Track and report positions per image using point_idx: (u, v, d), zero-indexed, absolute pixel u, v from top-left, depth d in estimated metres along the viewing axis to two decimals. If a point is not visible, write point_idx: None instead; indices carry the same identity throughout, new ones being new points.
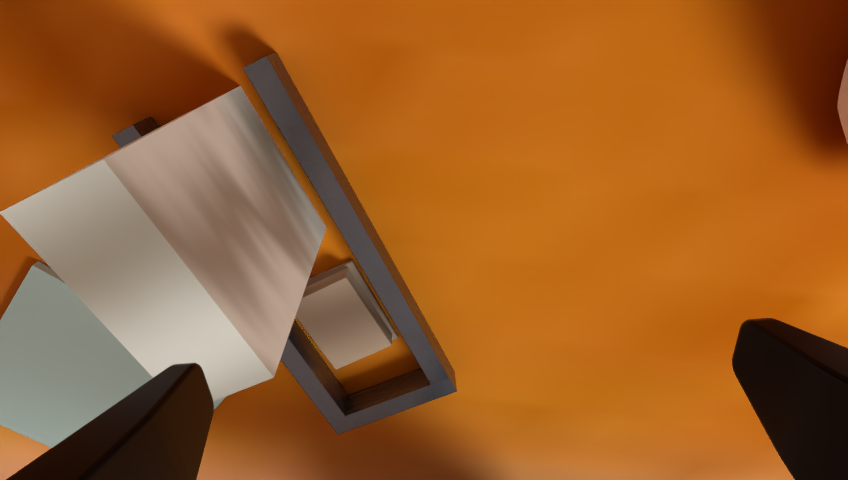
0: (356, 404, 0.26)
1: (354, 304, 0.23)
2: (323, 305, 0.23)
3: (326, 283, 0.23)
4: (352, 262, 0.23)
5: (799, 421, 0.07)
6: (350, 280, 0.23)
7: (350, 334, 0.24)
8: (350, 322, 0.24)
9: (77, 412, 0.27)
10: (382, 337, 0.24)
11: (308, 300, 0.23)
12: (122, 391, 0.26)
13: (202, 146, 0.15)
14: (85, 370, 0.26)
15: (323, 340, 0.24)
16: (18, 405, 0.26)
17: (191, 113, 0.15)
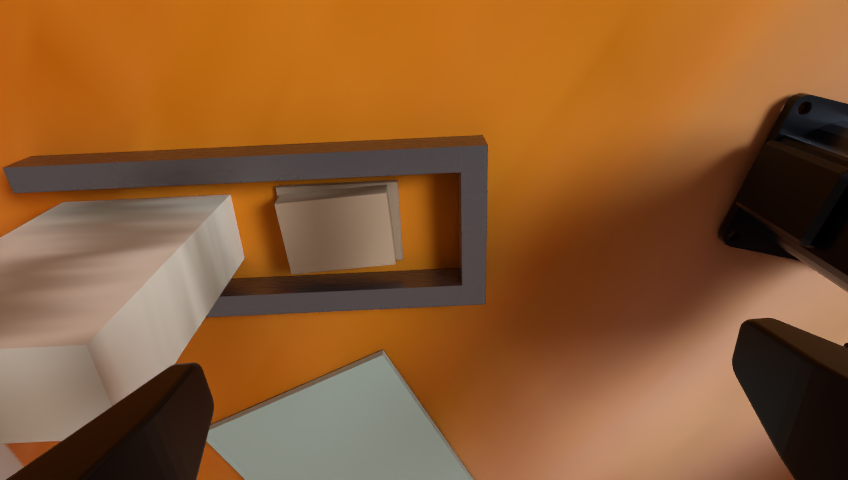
0: (460, 266, 0.21)
1: (312, 209, 0.19)
2: (303, 240, 0.20)
3: (282, 225, 0.20)
4: (277, 187, 0.20)
5: (798, 421, 0.07)
6: (284, 200, 0.19)
7: (353, 230, 0.20)
8: (336, 223, 0.20)
9: None
10: (370, 198, 0.19)
11: (291, 252, 0.20)
12: (353, 446, 0.26)
13: None
14: (317, 457, 0.27)
15: (350, 259, 0.20)
16: None
17: None
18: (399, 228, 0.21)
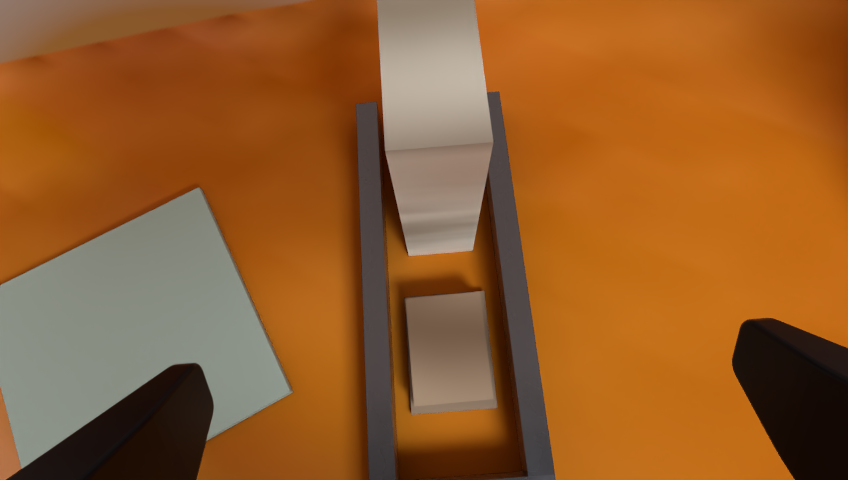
0: None
1: (474, 326, 0.21)
2: (442, 314, 0.21)
3: (454, 295, 0.21)
4: (483, 292, 0.22)
5: (798, 421, 0.07)
6: (480, 301, 0.21)
7: (453, 363, 0.20)
8: (460, 347, 0.20)
9: (82, 362, 0.22)
10: (487, 383, 0.20)
11: (429, 301, 0.21)
12: (154, 353, 0.22)
13: None
14: (142, 310, 0.22)
15: (420, 358, 0.20)
16: (35, 326, 0.22)
17: None
18: (447, 410, 0.21)
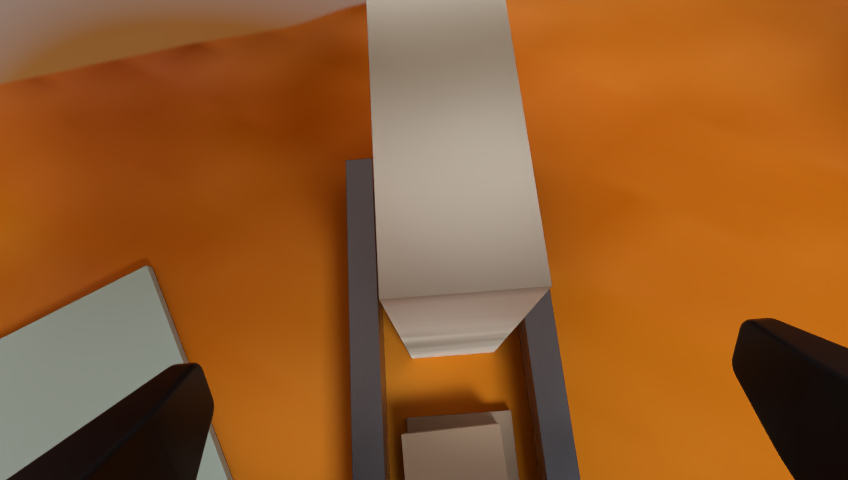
0: None
1: (494, 474, 0.15)
2: (449, 456, 0.16)
3: (465, 427, 0.16)
4: (510, 412, 0.17)
5: (798, 421, 0.07)
6: (500, 435, 0.16)
7: None
8: None
9: None
10: None
11: (432, 438, 0.16)
12: None
13: None
14: (66, 433, 0.17)
15: None
16: None
17: None
18: None
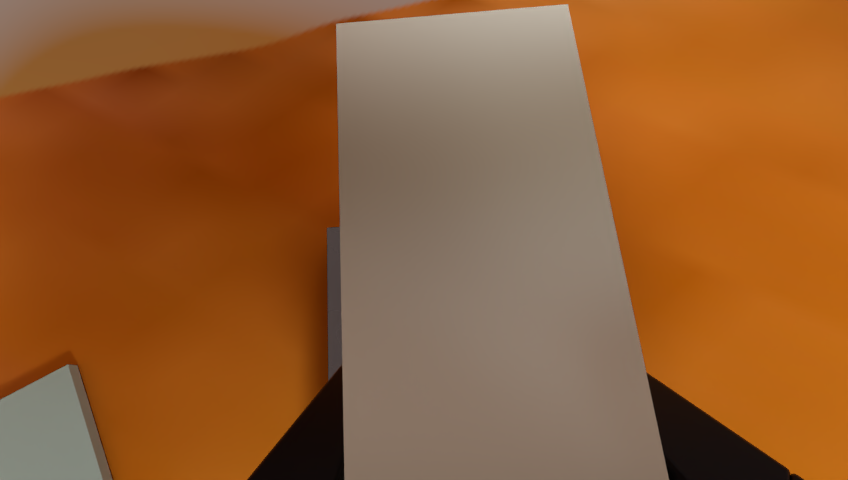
0: None
1: None
2: None
3: None
4: None
5: None
6: None
7: None
8: None
9: None
10: None
11: None
12: None
13: None
14: None
15: None
16: None
17: None
18: None
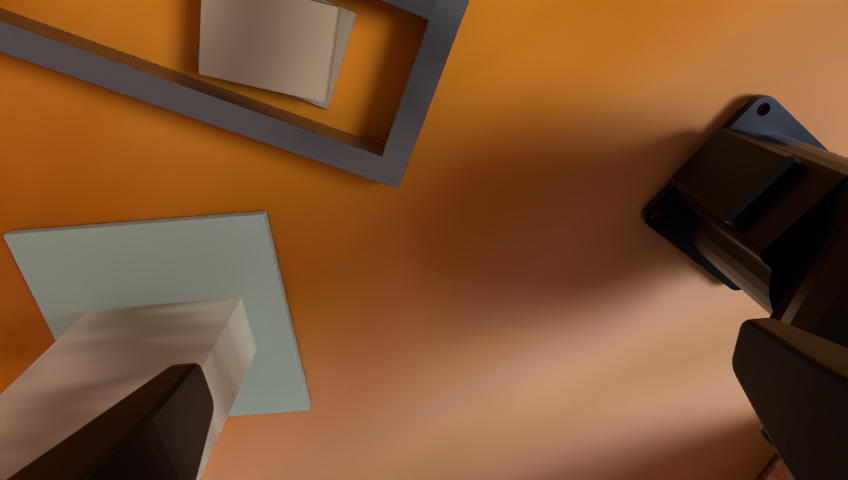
0: (387, 137, 0.19)
1: None
2: (224, 35, 0.17)
3: (204, 8, 0.17)
4: None
5: (798, 421, 0.07)
6: None
7: (287, 42, 0.17)
8: (269, 26, 0.17)
9: None
10: (317, 7, 0.16)
11: (206, 45, 0.17)
12: None
13: (19, 400, 0.17)
14: None
15: (273, 79, 0.17)
16: None
17: (6, 389, 0.18)
18: (338, 70, 0.18)
